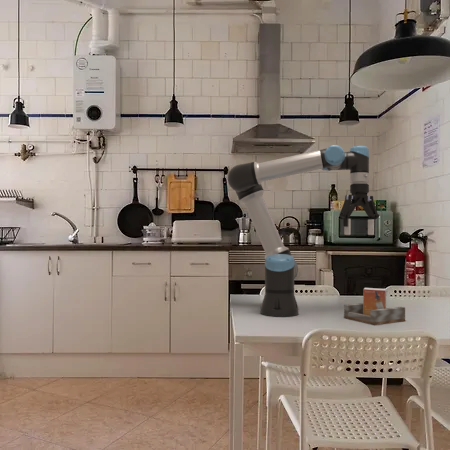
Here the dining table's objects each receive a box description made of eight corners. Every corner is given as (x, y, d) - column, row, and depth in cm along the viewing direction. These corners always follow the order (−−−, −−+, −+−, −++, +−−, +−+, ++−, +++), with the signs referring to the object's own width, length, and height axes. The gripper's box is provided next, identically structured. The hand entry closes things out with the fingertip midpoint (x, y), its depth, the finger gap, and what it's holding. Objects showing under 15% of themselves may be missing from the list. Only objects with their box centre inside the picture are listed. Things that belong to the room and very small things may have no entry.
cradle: (374, 325, 159) (374, 311, 159) (344, 318, 172) (344, 304, 172) (405, 320, 167) (405, 307, 167) (373, 314, 180) (373, 301, 180)
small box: (362, 317, 169) (362, 288, 169) (364, 314, 174) (364, 287, 174) (385, 318, 166) (385, 290, 166) (386, 316, 171) (386, 288, 171)
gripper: (343, 181, 178) (343, 234, 177) (387, 184, 190) (387, 234, 190) (330, 182, 184) (330, 234, 184) (373, 186, 197) (373, 234, 196)
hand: (359, 234), depth 187 cm, fingers open, 13 cm apart
